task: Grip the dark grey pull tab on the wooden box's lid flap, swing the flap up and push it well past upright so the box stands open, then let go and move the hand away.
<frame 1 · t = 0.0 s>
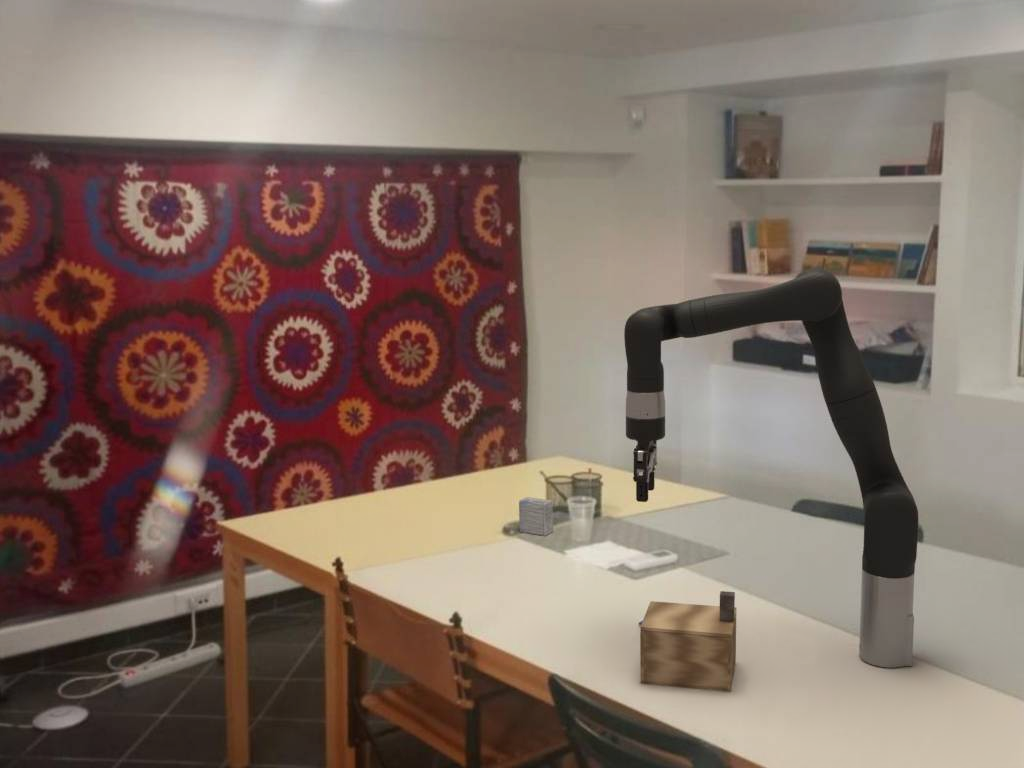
hand: (645, 495, 214), 29 cm above the table, fingers open, 8 cm apart
wooden box: (689, 672, 203), on the table
medicine box: (536, 533, 290), on the table
hard drive: (674, 634, 223), on the table
lid flap: (689, 605, 201), point 13 cm above the table, hinge at 0.0°
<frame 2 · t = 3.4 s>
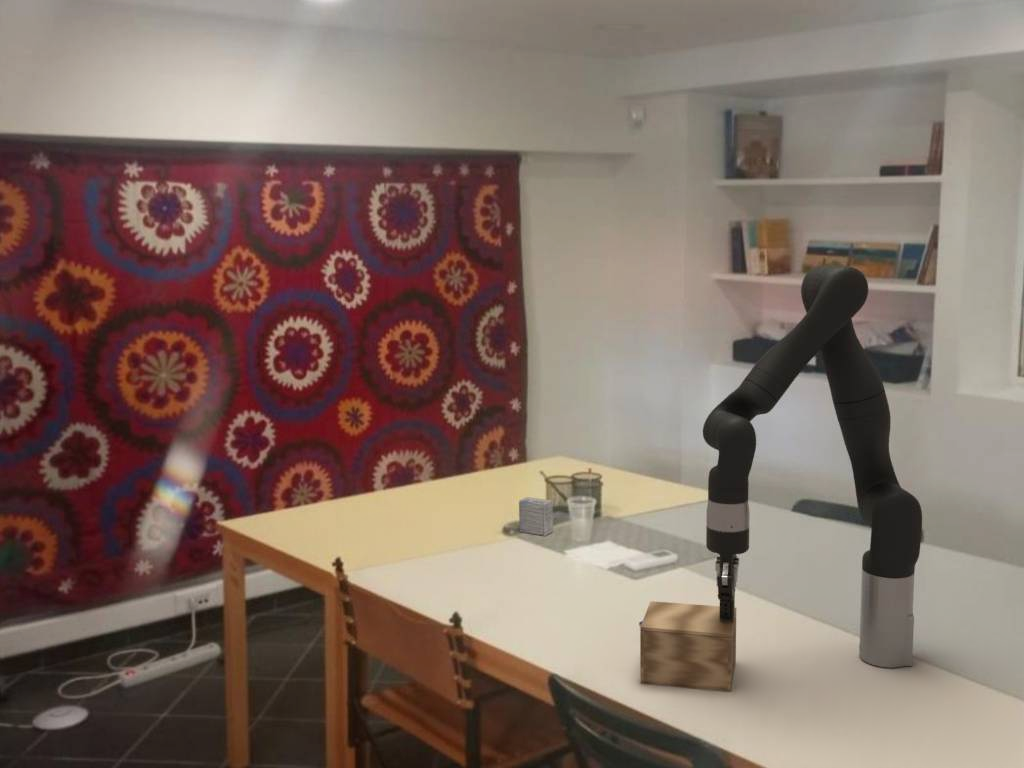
hand: (726, 615, 200), 11 cm above the table, fingers closed on lid flap, 2 cm apart
lid flap: (689, 605, 201), point 13 cm above the table, hinge at 0.0°, touching gripper
everything else where it was.
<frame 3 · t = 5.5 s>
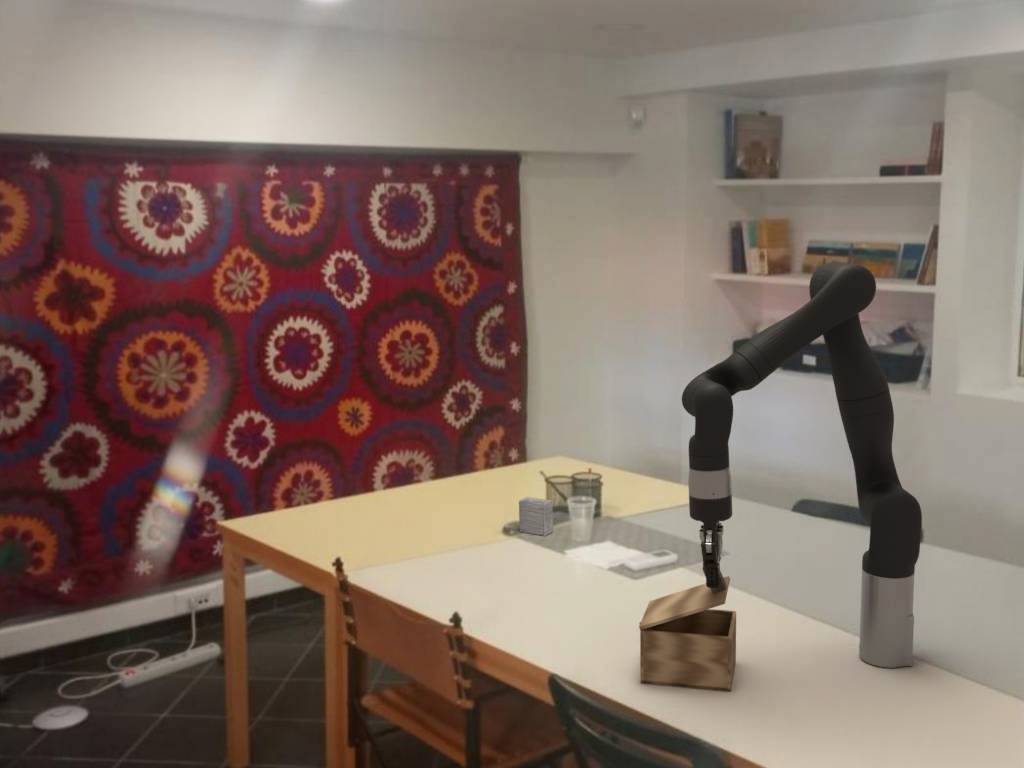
hand: (713, 584, 199), 17 cm above the table, fingers closed on lid flap, 2 cm apart
lid flap: (680, 590, 201), point 16 cm above the table, hinge at 22.4°, touching gripper
everything else where it was.
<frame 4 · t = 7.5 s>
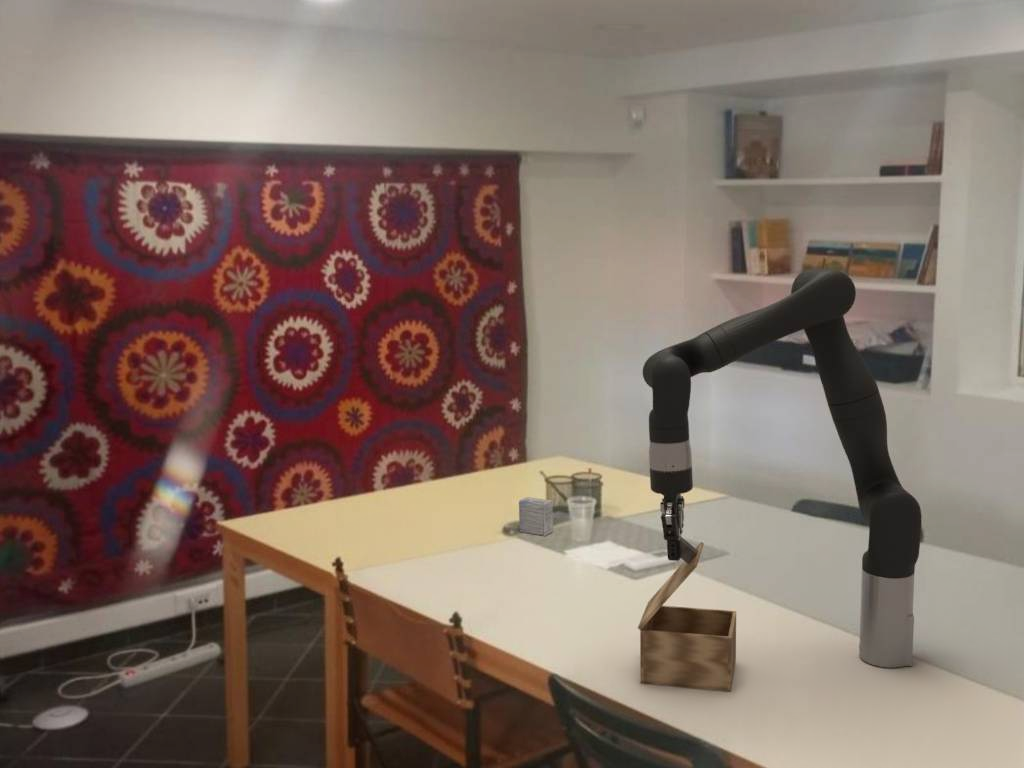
hand: (675, 557, 200), 22 cm above the table, fingers closed on lid flap, 2 cm apart
lid flap: (660, 576, 202), point 18 cm above the table, hinge at 51.7°, touching gripper
everything else where it was.
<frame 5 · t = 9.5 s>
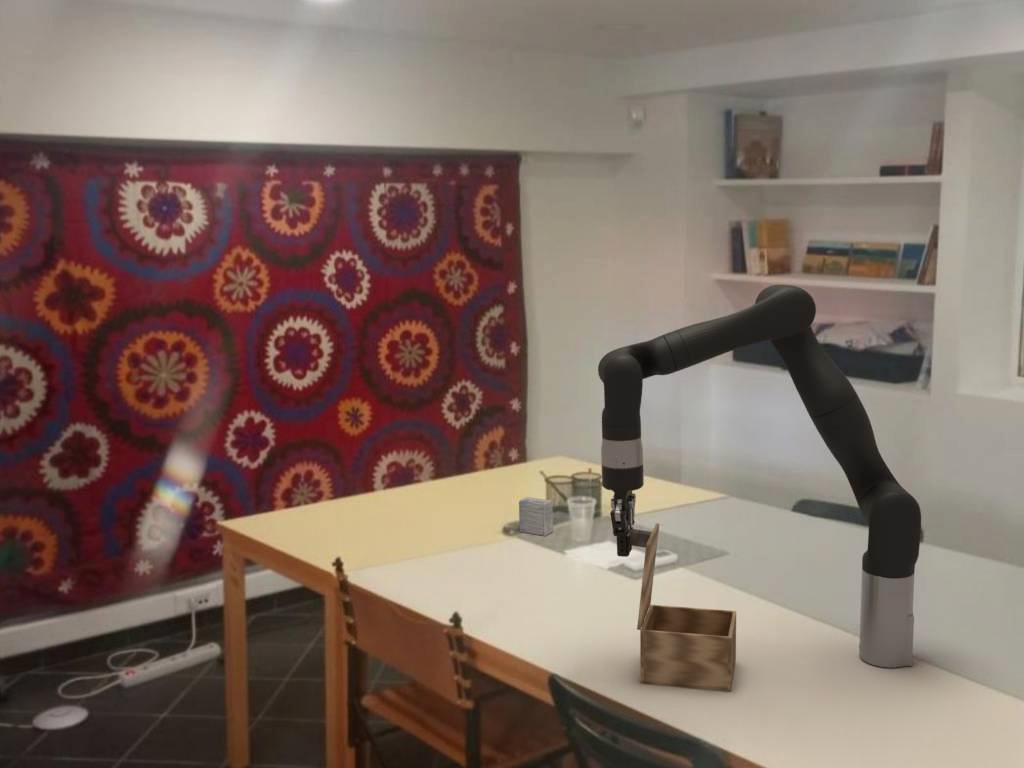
hand: (624, 553, 203), 22 cm above the table, fingers closed on lid flap, 2 cm apart
lid flap: (634, 573, 203), point 18 cm above the table, hinge at 84.1°, touching gripper
everything else where it was.
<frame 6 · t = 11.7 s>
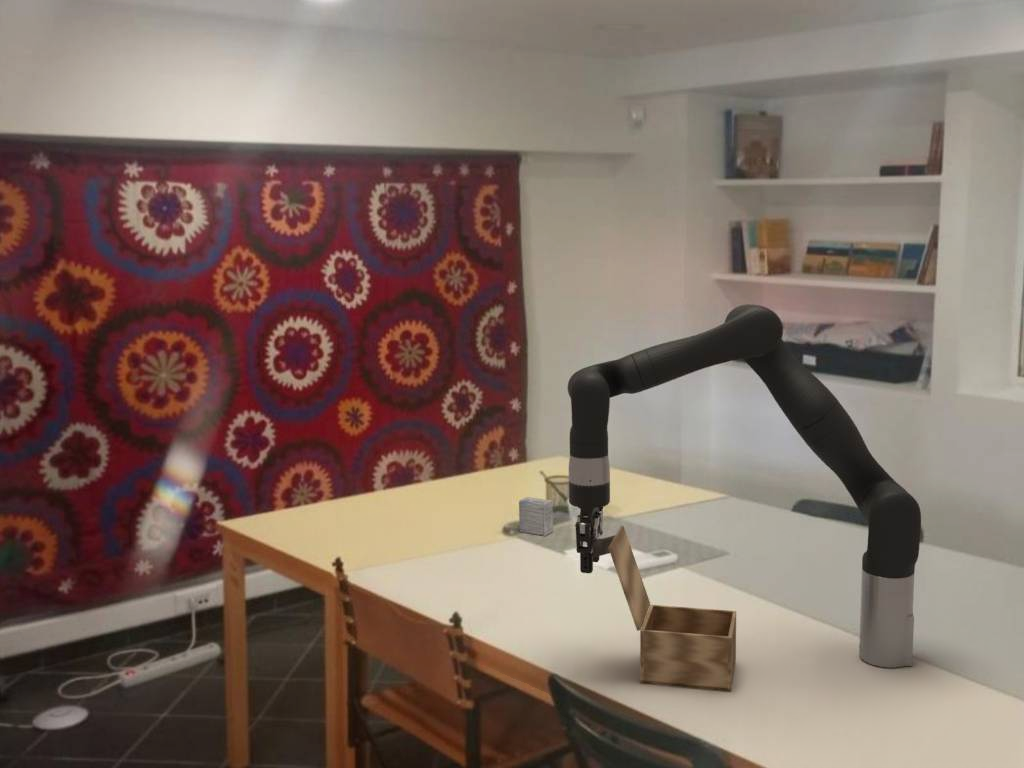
hand: (590, 566, 205), 19 cm above the table, fingers open, 6 cm apart
lid flap: (617, 580, 204), point 17 cm above the table, hinge at 108.7°
everything else where it was.
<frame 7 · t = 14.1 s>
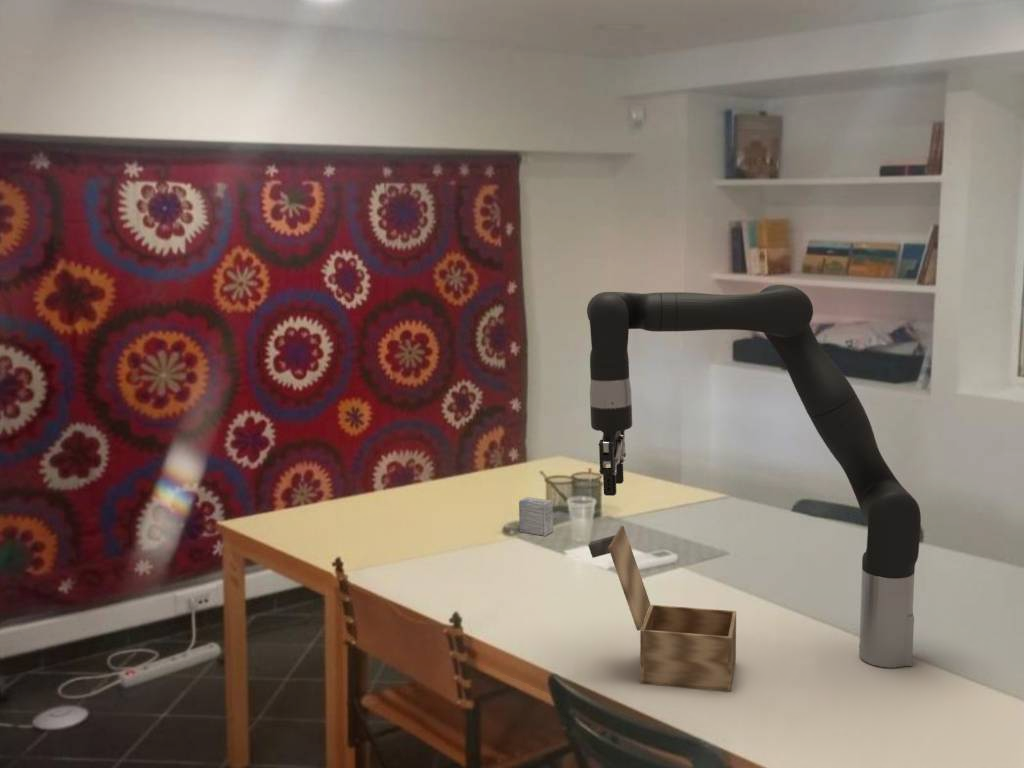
hand: (614, 488, 204), 33 cm above the table, fingers open, 8 cm apart
nothing on the table moved.
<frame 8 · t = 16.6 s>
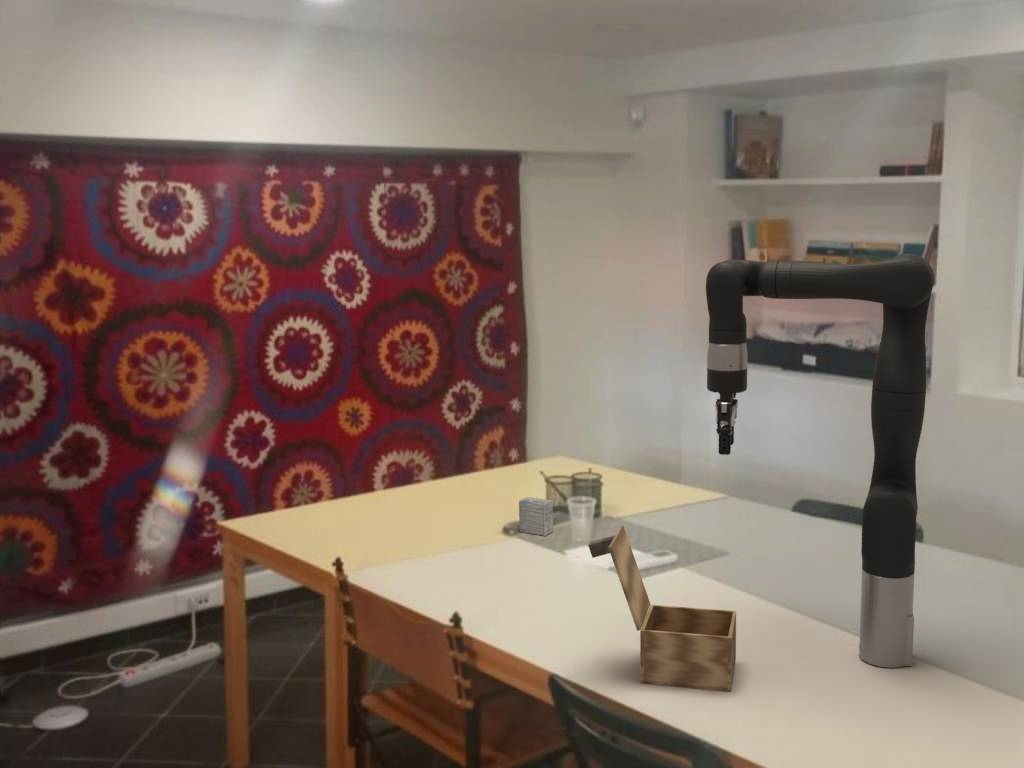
hand: (726, 449, 213), 38 cm above the table, fingers open, 8 cm apart
nothing on the table moved.
at the end: lid flap at +109° (first picture: +0°); the gripper is holding nothing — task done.
